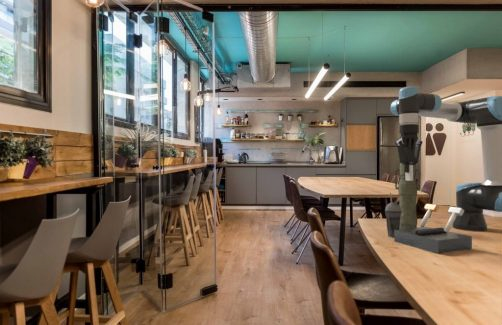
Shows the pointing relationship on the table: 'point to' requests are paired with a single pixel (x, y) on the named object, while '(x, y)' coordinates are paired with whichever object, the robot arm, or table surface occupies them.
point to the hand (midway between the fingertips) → (409, 180)
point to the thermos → (407, 198)
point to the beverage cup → (392, 217)
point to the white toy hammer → (453, 217)
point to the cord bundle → (429, 231)
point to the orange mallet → (428, 213)
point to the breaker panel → (433, 240)
